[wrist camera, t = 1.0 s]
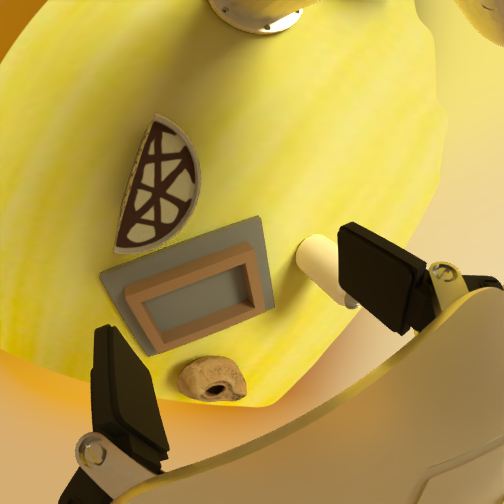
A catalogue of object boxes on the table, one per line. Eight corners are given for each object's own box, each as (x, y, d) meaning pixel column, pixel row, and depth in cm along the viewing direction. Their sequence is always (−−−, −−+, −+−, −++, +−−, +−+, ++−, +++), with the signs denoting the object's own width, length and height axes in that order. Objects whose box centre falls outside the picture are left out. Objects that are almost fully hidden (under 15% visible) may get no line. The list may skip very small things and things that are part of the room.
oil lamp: (226, 389, 51) (240, 419, 45) (161, 378, 43) (170, 414, 36) (257, 354, 49) (275, 385, 43) (189, 337, 41) (203, 375, 34)
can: (291, 272, 43) (337, 317, 33) (296, 234, 40) (349, 275, 30) (323, 265, 45) (370, 305, 36) (330, 231, 43) (383, 266, 33)
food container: (165, 230, 32) (178, 271, 24) (117, 219, 29) (112, 258, 20) (201, 132, 28) (229, 137, 20) (151, 116, 25) (157, 111, 17)
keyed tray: (100, 272, 30) (98, 288, 27) (257, 215, 36) (269, 224, 33) (147, 352, 39) (150, 368, 36) (272, 303, 44) (282, 316, 42)
